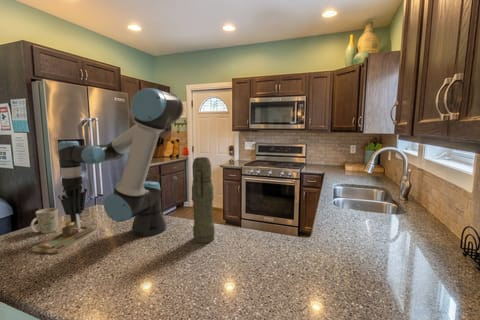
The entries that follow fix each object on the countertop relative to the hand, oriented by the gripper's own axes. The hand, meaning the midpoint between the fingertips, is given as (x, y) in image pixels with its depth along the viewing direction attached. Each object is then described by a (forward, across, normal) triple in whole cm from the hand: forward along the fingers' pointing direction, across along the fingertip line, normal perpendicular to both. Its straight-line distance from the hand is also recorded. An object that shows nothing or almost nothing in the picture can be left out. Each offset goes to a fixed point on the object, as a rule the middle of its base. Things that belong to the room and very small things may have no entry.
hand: (76, 228), depth 110 cm
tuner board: (+4, +5, 0) cm, 6 cm away
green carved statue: (+4, -6, +58) cm, 58 cm away
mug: (+4, 0, -18) cm, 18 cm away
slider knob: (+2, +3, +2) cm, 4 cm away
